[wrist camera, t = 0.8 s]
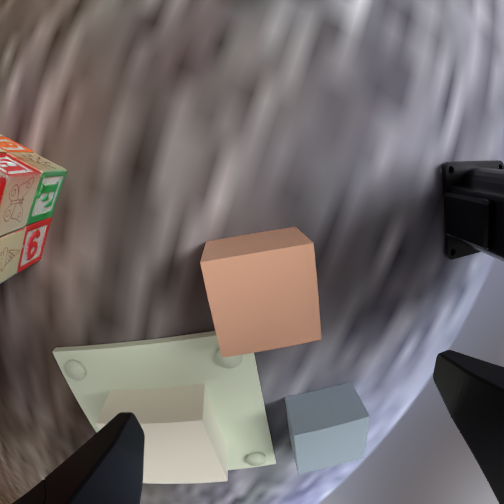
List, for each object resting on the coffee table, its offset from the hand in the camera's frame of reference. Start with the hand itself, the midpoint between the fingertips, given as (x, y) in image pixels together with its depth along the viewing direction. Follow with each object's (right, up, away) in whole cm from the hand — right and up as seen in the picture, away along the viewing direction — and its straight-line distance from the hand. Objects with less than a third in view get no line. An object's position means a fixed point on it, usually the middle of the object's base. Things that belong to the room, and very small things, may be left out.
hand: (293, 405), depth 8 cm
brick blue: (+4, -8, +14) cm, 16 cm away
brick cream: (-7, -8, +12) cm, 16 cm away
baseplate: (-7, -8, +13) cm, 17 cm away
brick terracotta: (-1, +3, +10) cm, 11 cm away
